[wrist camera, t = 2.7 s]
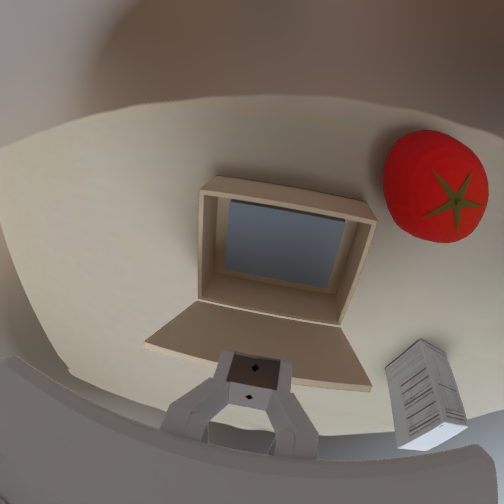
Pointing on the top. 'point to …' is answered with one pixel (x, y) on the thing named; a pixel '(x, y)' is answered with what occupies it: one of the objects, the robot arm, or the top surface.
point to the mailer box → (281, 248)
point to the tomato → (435, 186)
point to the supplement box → (424, 398)
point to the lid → (262, 344)
